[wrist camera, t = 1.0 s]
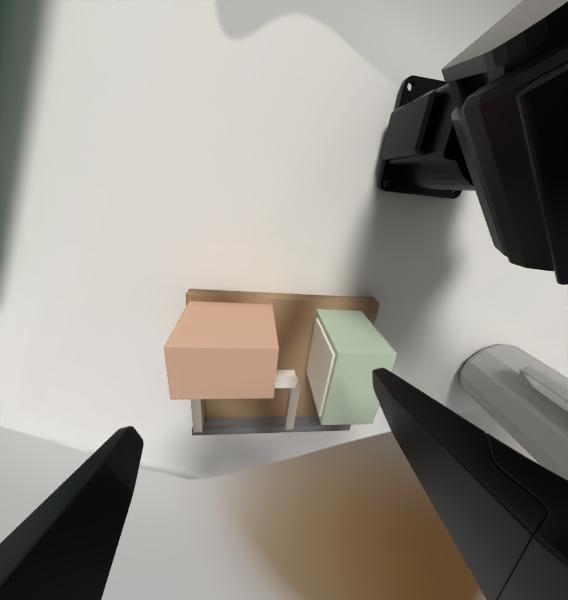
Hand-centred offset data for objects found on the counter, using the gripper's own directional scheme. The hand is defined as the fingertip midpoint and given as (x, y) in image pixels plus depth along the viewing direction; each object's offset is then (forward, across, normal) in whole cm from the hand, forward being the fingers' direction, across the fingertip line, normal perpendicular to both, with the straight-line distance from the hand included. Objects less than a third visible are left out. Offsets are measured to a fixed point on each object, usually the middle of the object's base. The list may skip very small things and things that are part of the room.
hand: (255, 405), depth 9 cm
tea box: (+11, -5, +7) cm, 14 cm away
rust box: (+11, +3, +3) cm, 12 cm away
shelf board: (+12, 0, +8) cm, 15 cm away
